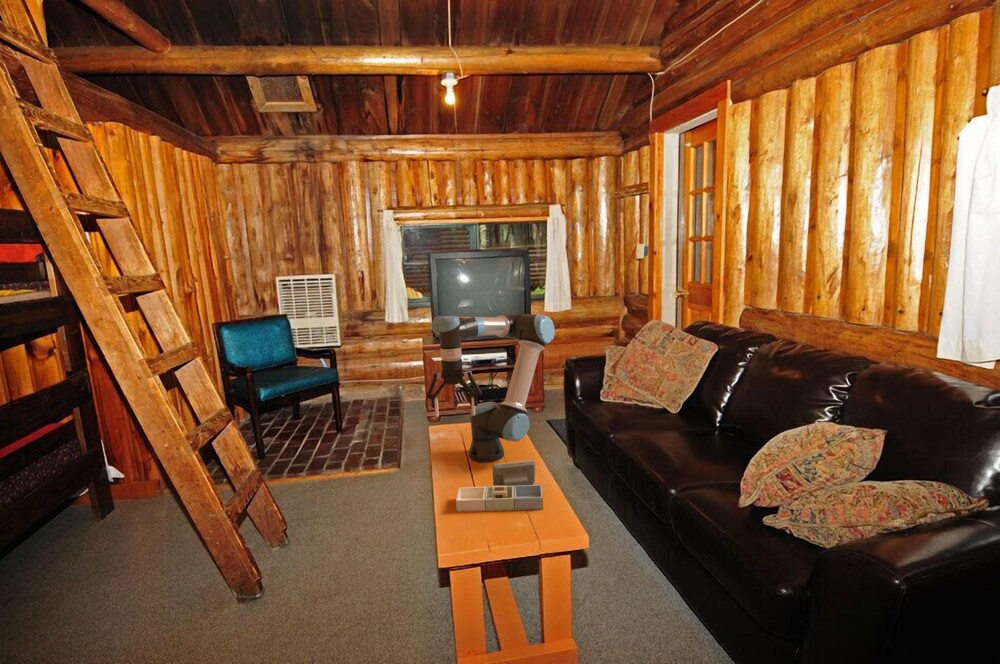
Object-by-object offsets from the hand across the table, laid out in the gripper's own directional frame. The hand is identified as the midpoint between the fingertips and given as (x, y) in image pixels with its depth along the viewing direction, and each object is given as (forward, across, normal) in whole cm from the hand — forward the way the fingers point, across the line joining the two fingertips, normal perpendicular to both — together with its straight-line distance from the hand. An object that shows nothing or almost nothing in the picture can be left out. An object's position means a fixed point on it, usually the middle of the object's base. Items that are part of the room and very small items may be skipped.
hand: (455, 415), depth 194 cm
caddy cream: (+29, +5, -13) cm, 32 cm away
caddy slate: (+29, +25, -13) cm, 40 cm away
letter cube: (+28, +15, -13) cm, 35 cm away
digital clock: (+29, +20, -1) cm, 35 cm away
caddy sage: (+29, +15, -13) cm, 35 cm away
